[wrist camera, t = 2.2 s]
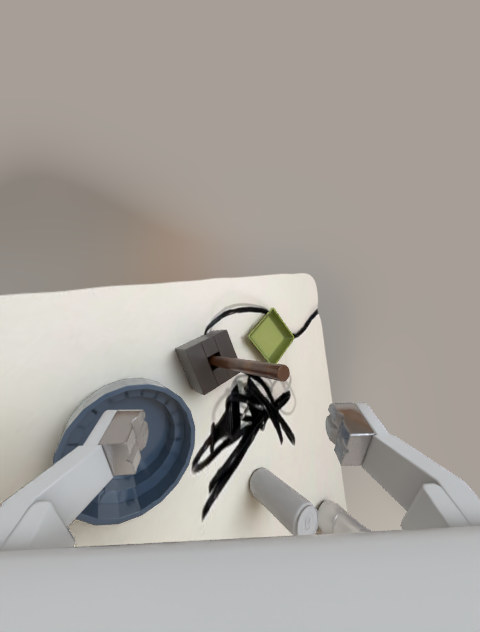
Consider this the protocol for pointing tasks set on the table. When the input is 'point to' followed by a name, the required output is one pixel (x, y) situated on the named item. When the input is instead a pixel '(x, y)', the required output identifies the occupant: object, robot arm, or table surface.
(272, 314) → the saucer
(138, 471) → the bowl
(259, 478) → the beverage can
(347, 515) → the plastic bottle
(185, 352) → the holder
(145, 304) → the table surface
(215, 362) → the stick
